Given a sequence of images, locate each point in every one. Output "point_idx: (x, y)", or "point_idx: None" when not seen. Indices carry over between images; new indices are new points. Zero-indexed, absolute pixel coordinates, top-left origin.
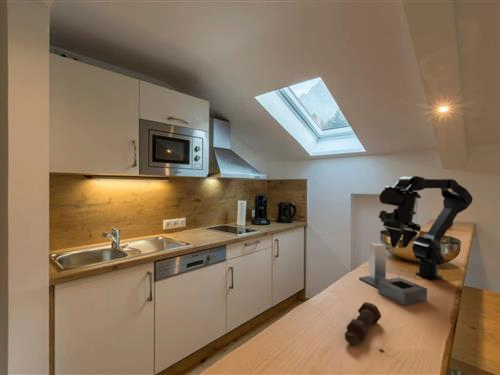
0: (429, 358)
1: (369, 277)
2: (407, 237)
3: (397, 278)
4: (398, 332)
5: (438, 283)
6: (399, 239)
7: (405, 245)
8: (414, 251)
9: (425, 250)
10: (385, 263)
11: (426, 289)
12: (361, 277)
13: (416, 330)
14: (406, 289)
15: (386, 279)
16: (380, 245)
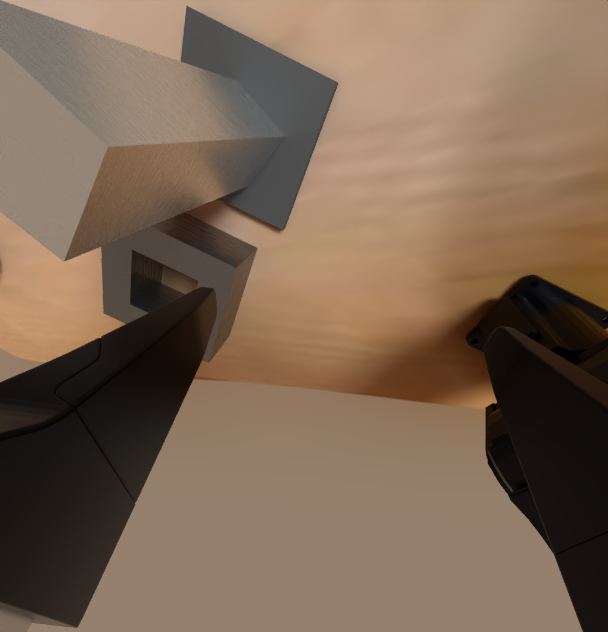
0: (23, 349)
1: (247, 69)
2: (576, 476)
3: (212, 264)
4: (24, 302)
5: (435, 360)
6: (165, 425)
7: (493, 363)
8: (595, 366)
9: (504, 457)
10: (188, 208)
11: (207, 359)
12: (204, 19)
13: (67, 328)
14: (137, 313)
15: (297, 173)
16: (3, 205)
